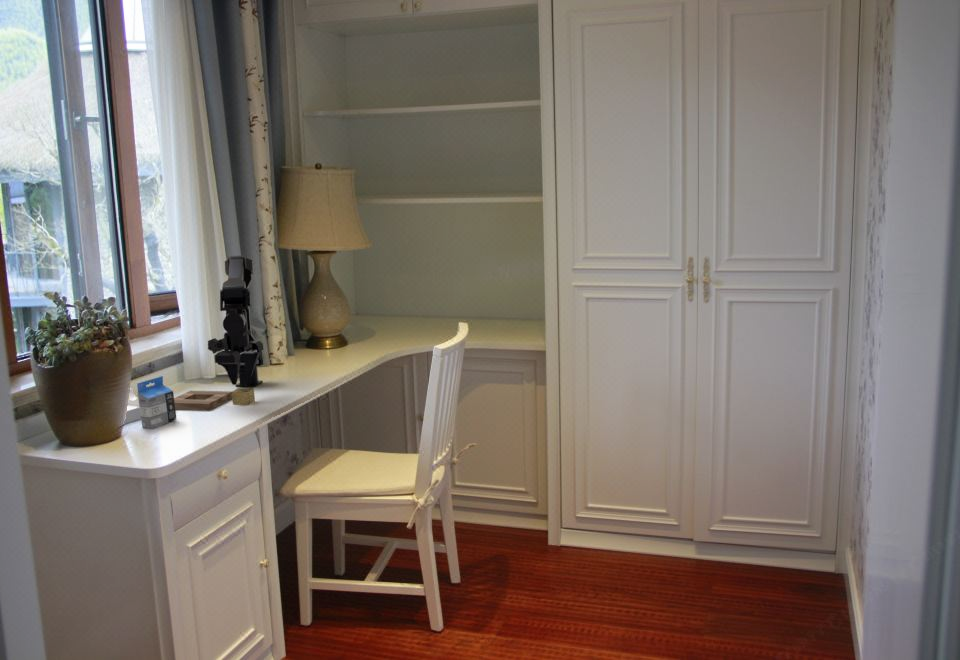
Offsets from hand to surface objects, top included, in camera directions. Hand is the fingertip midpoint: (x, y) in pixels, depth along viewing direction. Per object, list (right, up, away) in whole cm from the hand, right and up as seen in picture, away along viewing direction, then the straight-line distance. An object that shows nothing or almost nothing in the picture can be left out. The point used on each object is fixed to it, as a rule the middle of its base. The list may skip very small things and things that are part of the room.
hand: (242, 380), depth 252 cm
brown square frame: (-13, -7, +2) cm, 15 cm away
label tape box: (-17, -11, -18) cm, 27 cm away
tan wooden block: (0, -7, +1) cm, 7 cm away
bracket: (-29, -11, -13) cm, 34 cm away
